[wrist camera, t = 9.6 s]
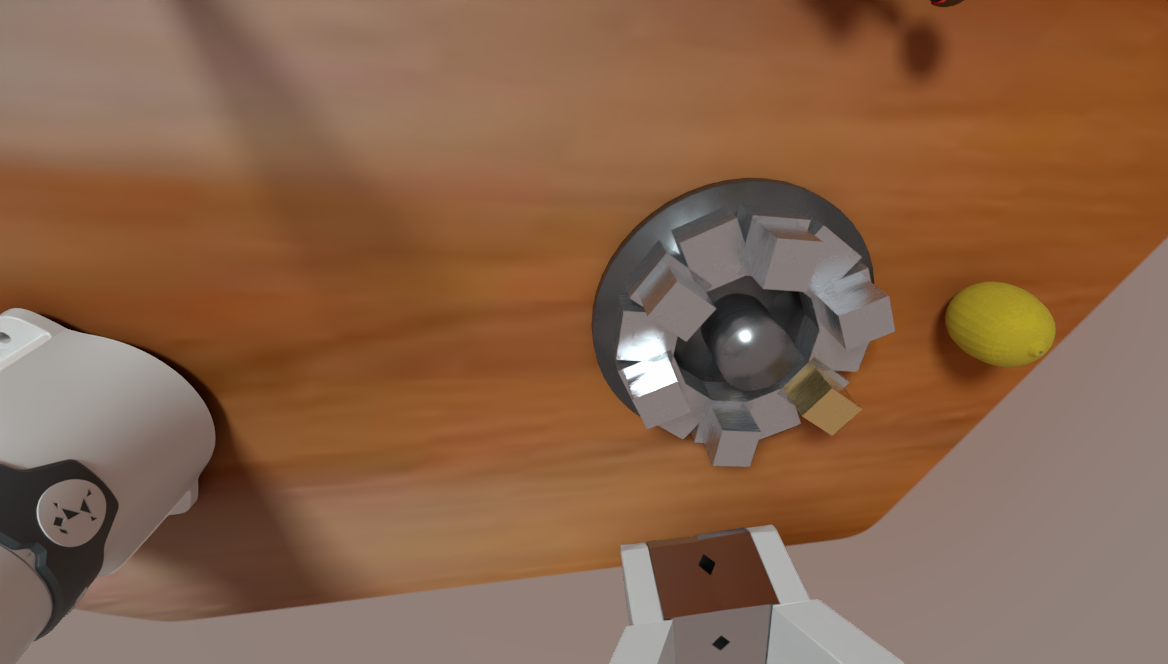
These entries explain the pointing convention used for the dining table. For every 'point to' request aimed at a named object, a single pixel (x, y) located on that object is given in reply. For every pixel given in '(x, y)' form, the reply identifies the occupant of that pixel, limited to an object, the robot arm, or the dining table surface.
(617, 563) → the dining table surface
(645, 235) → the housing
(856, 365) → the cube bead bracelet
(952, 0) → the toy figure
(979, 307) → the lemon
